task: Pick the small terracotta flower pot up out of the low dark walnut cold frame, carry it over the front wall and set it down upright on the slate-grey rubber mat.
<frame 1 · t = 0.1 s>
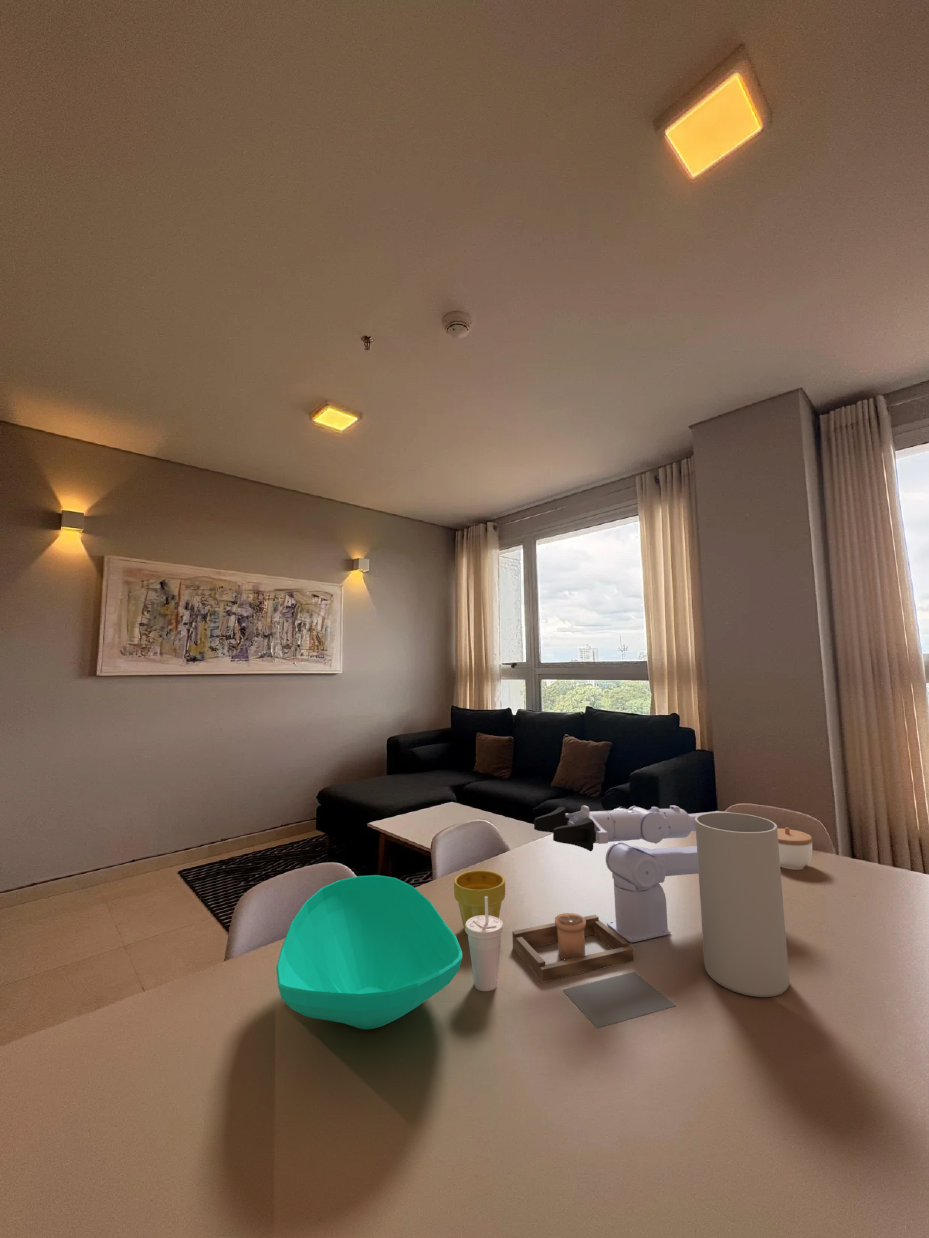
hand: (544, 829, 101), 22 cm above the table, tool horizontal, fingers open, 7 cm apart
terracotta pot: (571, 937, 98), in the cold frame
lidded jar: (790, 866, 138), on the table
cold frame: (571, 954, 98), on the table
plant pot: (480, 930, 108), on the table
cylinder vase: (745, 978, 89), on the table
potting mat: (617, 997, 84), on the table
smoothie: (485, 985, 89), on the table
table top decor: (370, 1012, 82), on the table
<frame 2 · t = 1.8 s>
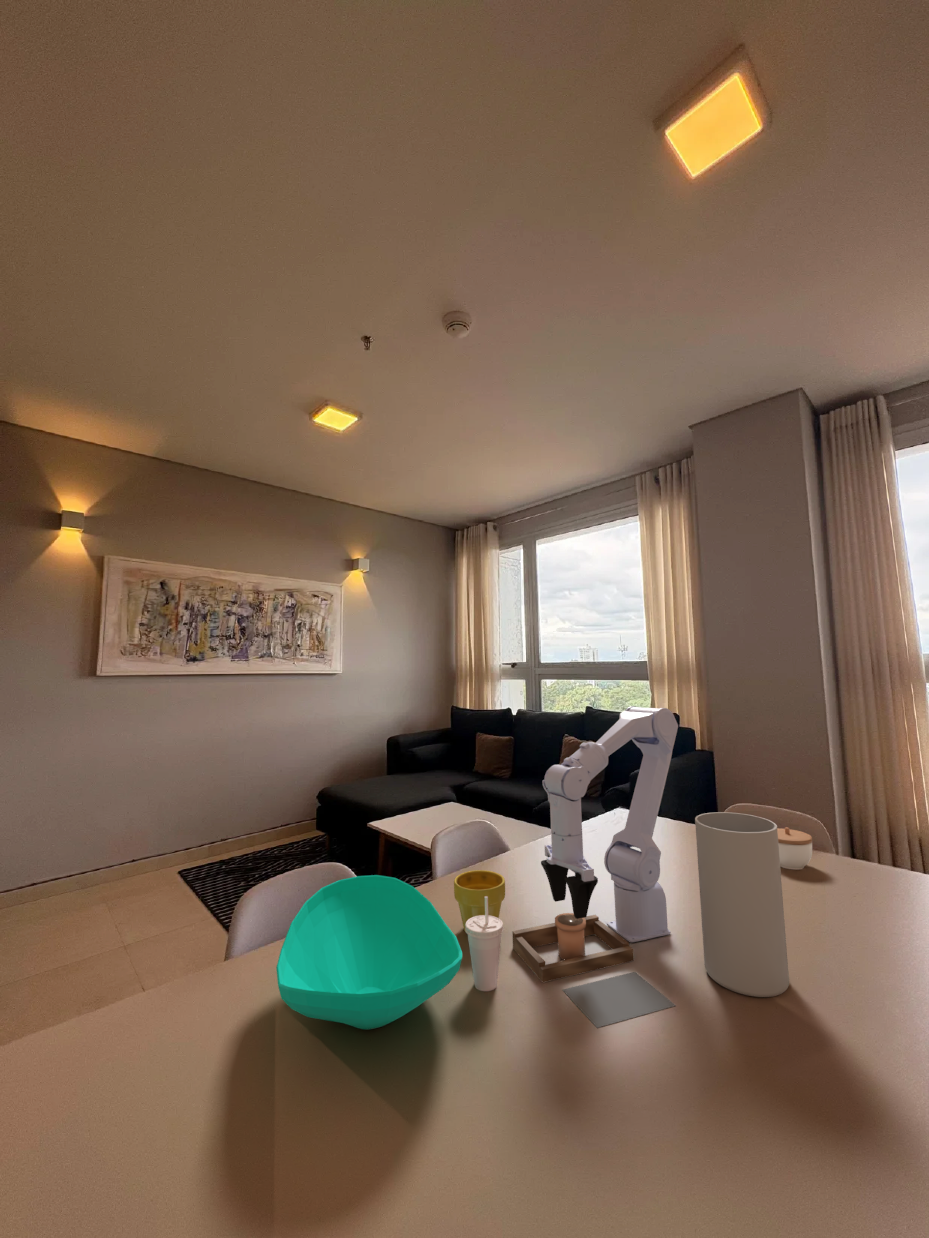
hand: (569, 908, 98), 8 cm above the table, tool pointing down, fingers open, 7 cm apart
nothing on the table moved.
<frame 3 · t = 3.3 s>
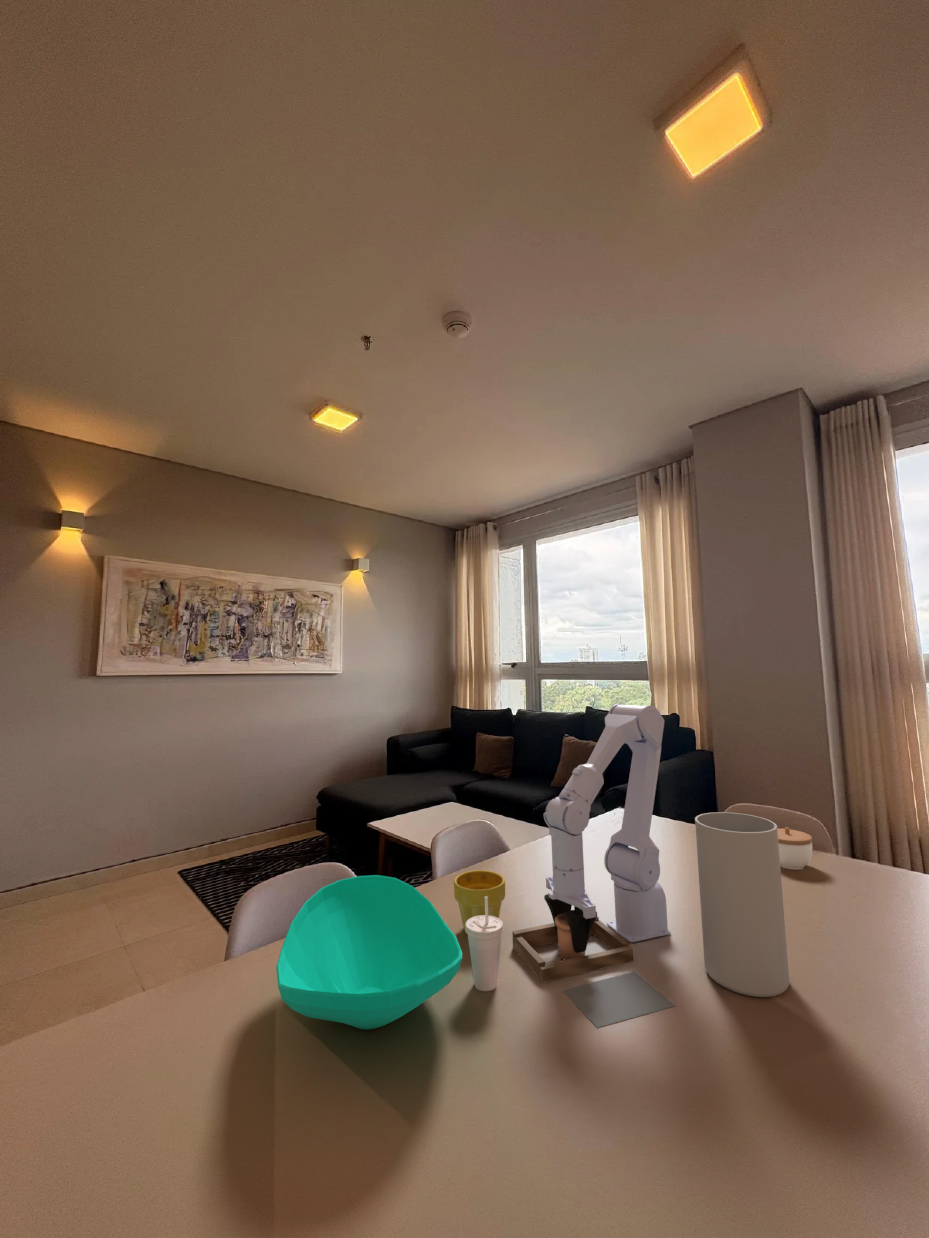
hand: (571, 943, 98), 2 cm above the table, tool pointing down, fingers closed on terracotta pot, 5 cm apart
terracotta pot: (571, 937, 98), in the cold frame, touching gripper
everything else where it was.
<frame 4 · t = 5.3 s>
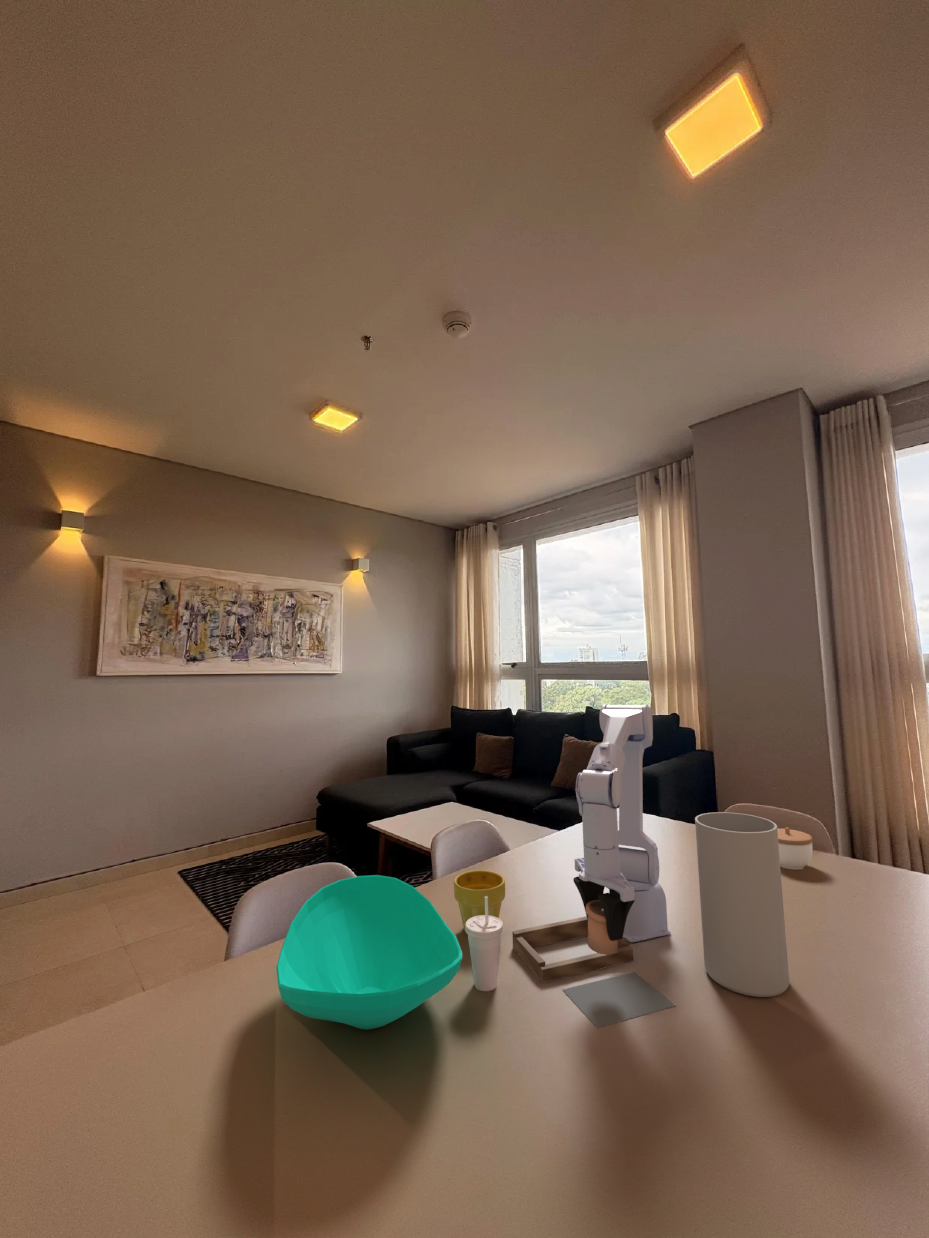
hand: (604, 930, 88), 9 cm above the table, tool pointing down, fingers closed on terracotta pot, 5 cm apart
terracotta pot: (602, 927, 88), point 9 cm above the table, tilted 6°, touching gripper
everything else where it was.
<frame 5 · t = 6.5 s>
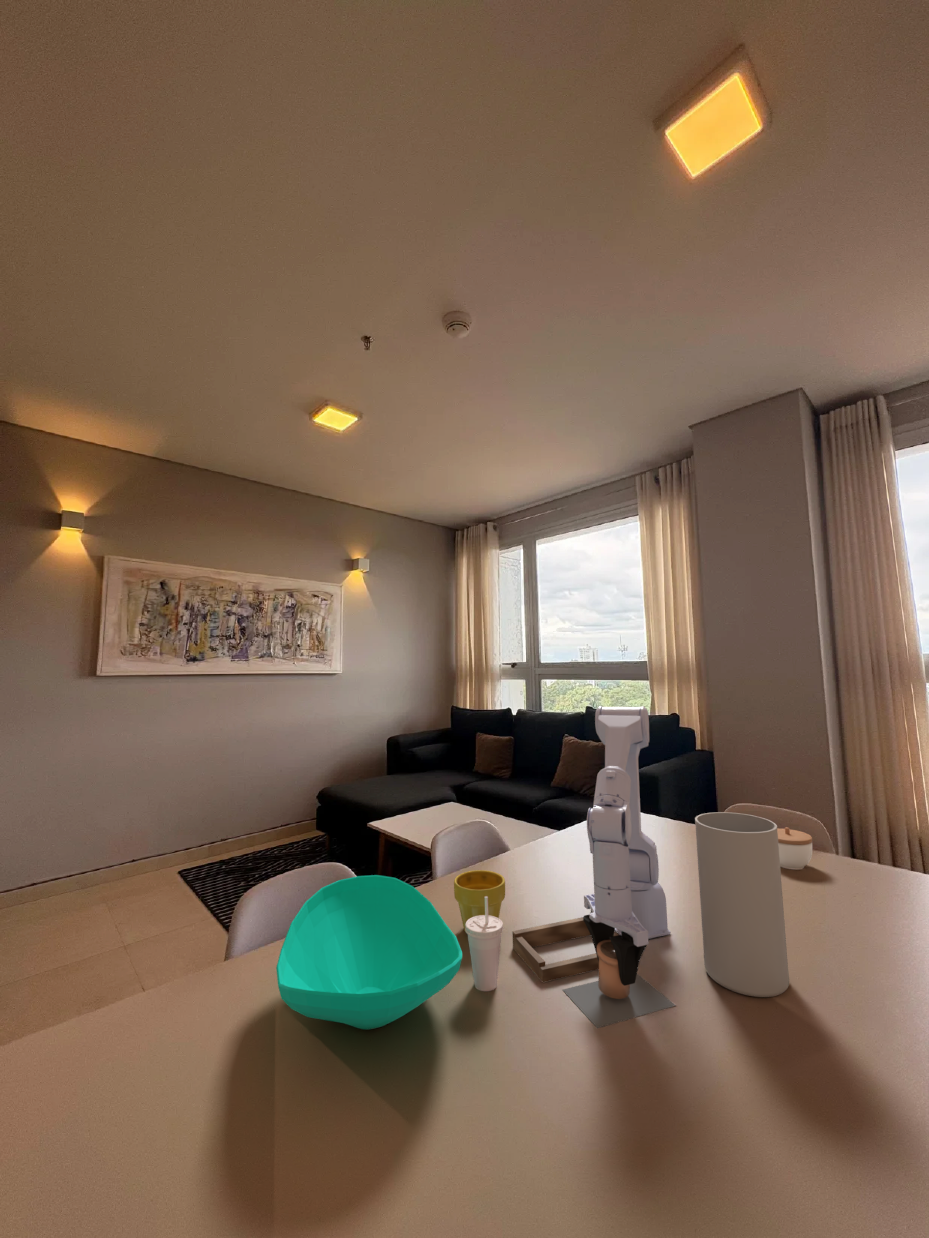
hand: (616, 972, 85), 4 cm above the table, tool pointing down, fingers closed on terracotta pot, 5 cm apart
terracotta pot: (614, 969, 85), point 4 cm above the table, tilted 7°, touching gripper
everything else where it was.
when the fingers open (3 cm above the table, at t = 7.5 s): terracotta pot stays where it is, resting on potting mat.
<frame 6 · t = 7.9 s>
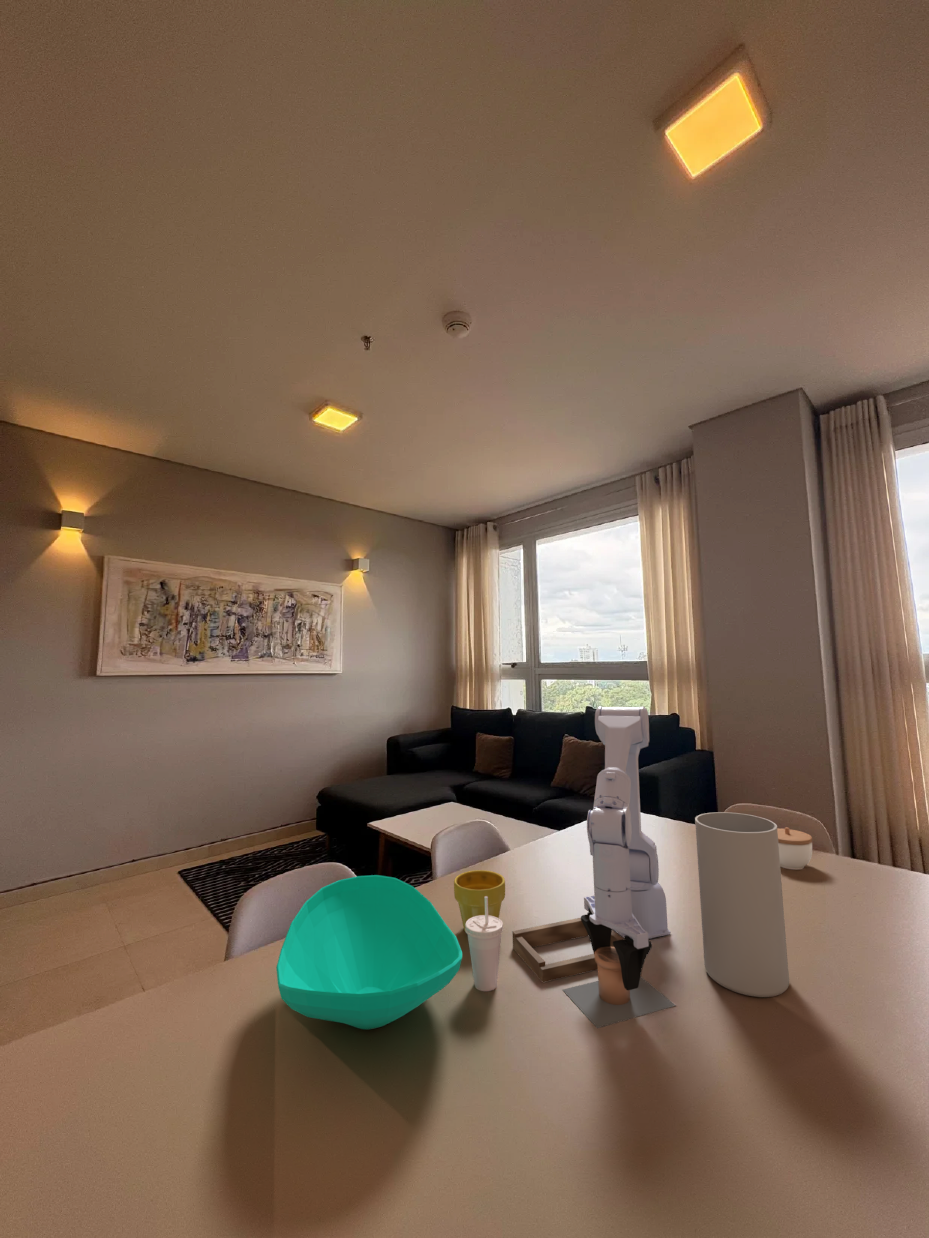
hand: (616, 974, 85), 3 cm above the table, tool pointing down, fingers open, 7 cm apart
terracotta pot: (613, 975, 85), resting on potting mat
everything else where it was.
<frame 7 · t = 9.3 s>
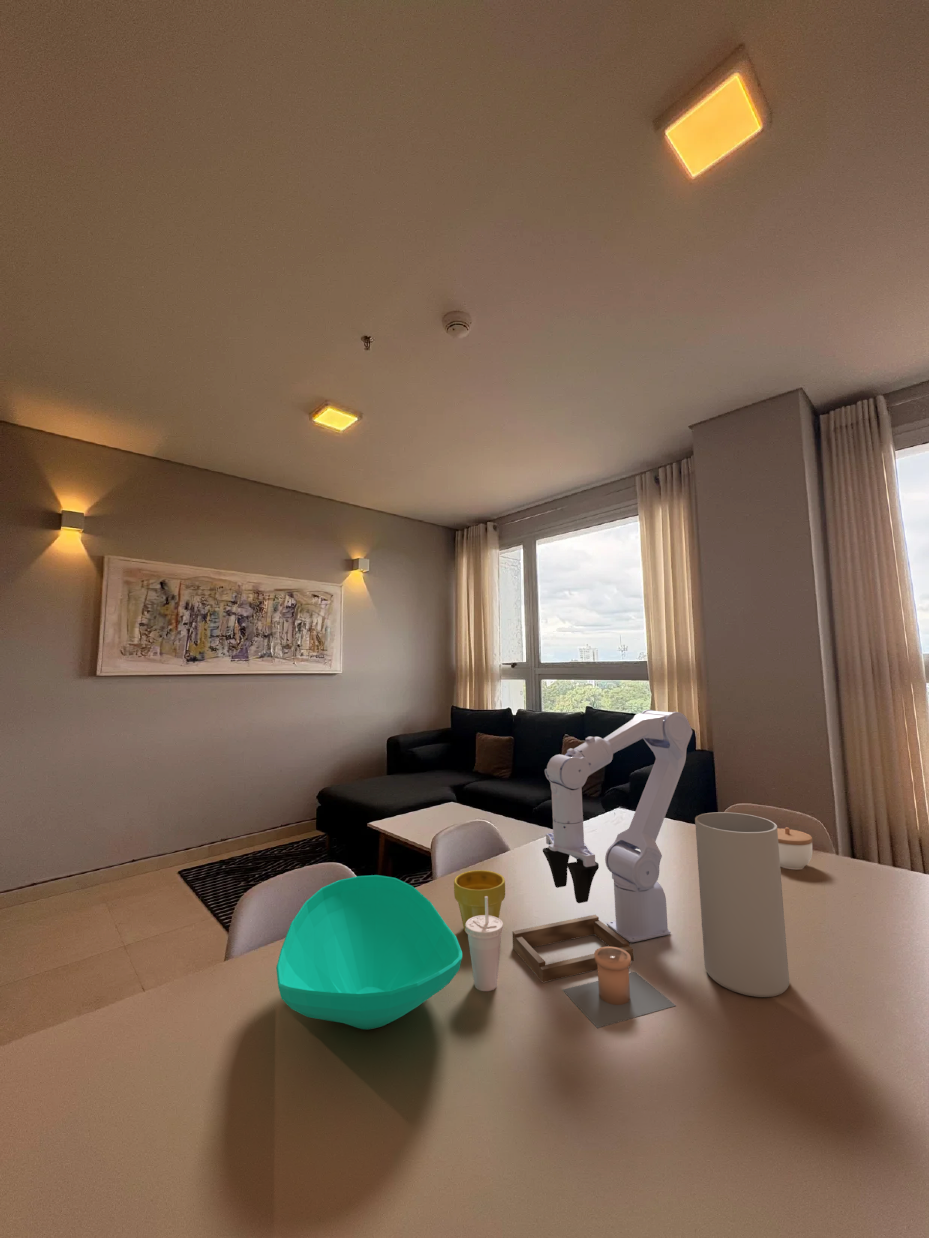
hand: (571, 893, 101), 9 cm above the table, tool pointing down, fingers open, 7 cm apart
nothing on the table moved.
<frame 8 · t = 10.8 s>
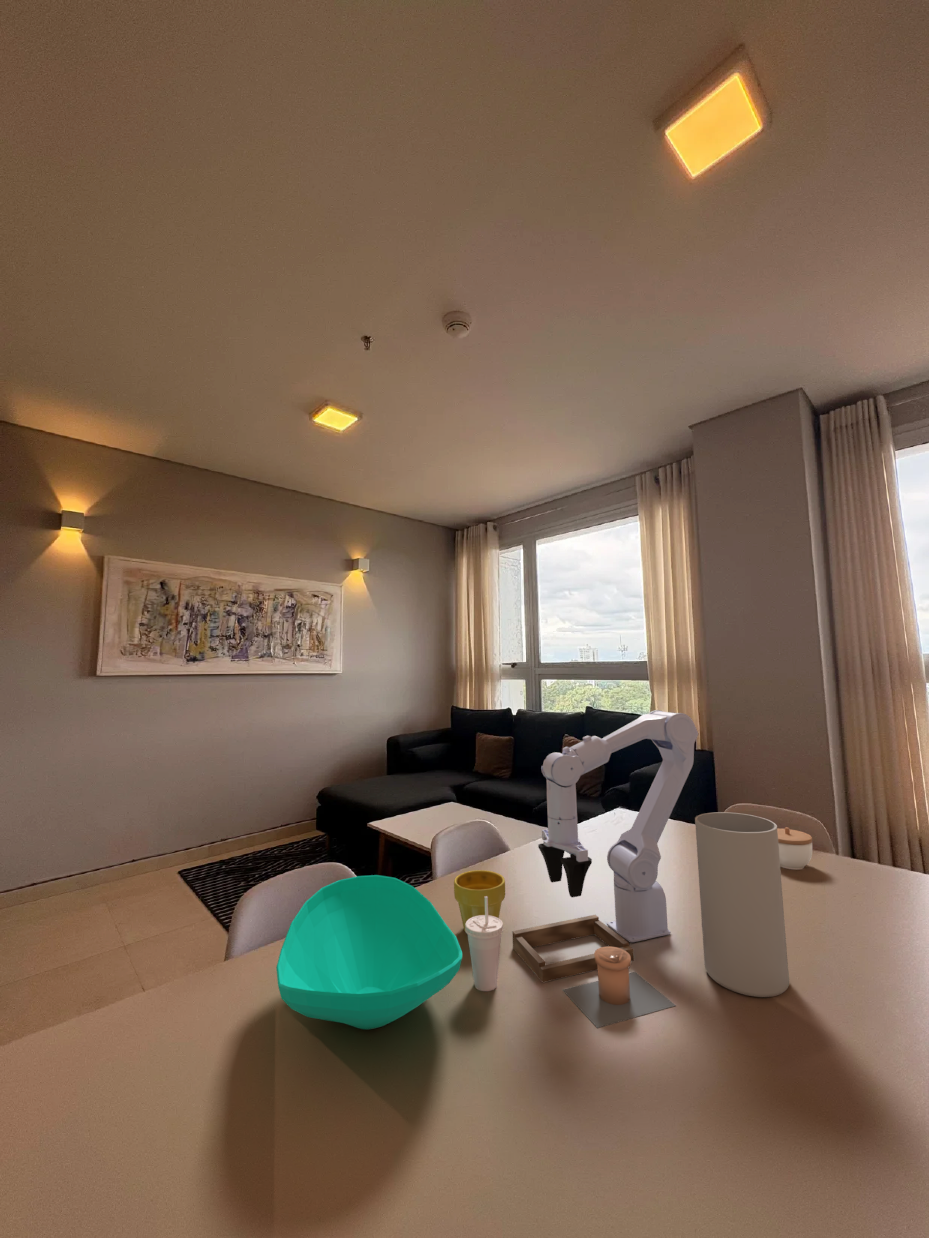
hand: (565, 888, 104), 9 cm above the table, tool pointing down, fingers open, 7 cm apart
nothing on the table moved.
at the end: terracotta pot inside the target area (0.6 cm from its centre), on the table; terracotta pot tilted 0°; the gripper is holding nothing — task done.
